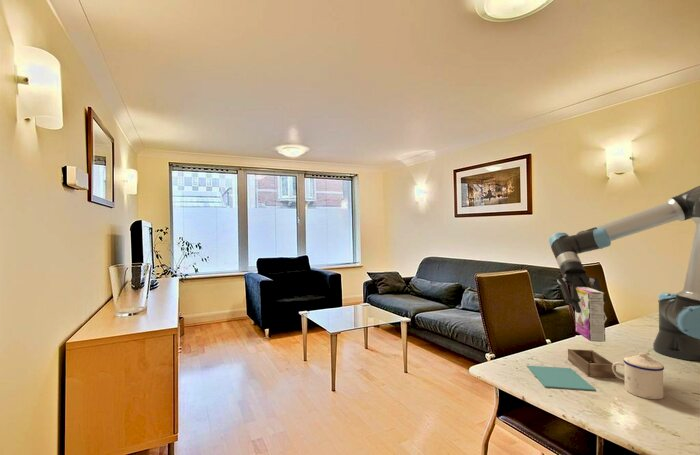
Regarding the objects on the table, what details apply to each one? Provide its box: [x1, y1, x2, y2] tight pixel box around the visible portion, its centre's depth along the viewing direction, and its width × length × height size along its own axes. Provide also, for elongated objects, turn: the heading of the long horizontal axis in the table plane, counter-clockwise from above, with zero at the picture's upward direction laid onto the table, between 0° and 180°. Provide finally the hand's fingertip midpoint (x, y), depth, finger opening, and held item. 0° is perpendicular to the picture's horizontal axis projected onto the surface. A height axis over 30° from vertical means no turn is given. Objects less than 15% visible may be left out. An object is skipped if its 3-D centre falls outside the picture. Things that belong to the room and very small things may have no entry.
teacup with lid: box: [612, 351, 665, 400], centre depth 102 cm, size 12×9×12 cm
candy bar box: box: [574, 287, 606, 343], centre depth 119 cm, size 11×5×16 cm, turn 169°
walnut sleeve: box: [567, 348, 617, 379], centre depth 118 cm, size 8×14×4 cm, turn 170°
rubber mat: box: [526, 365, 597, 392], centre depth 111 cm, size 14×16×1 cm
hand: (594, 320), depth 115 cm, fingers closed on candy bar box, 5 cm apart
